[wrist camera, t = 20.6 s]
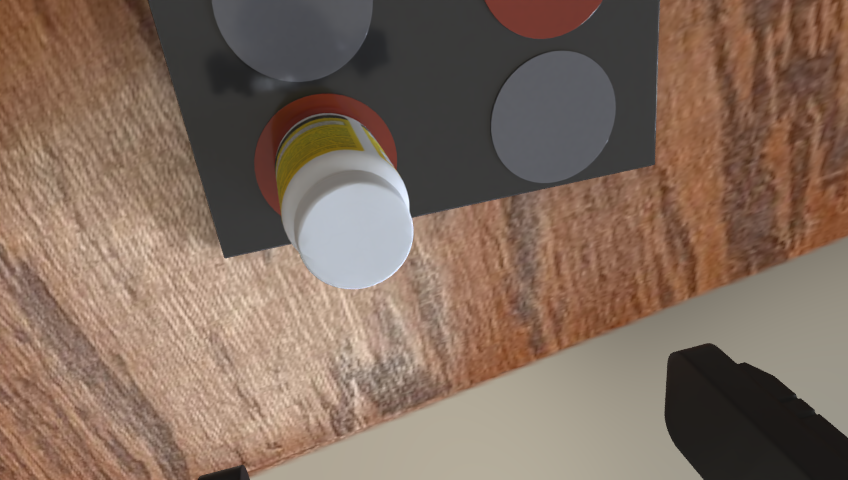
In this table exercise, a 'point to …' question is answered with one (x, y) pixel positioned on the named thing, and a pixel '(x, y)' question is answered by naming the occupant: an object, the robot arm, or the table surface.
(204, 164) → the hob
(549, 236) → the table surface
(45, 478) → the table surface
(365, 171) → the supplement bottle
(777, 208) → the table surface
